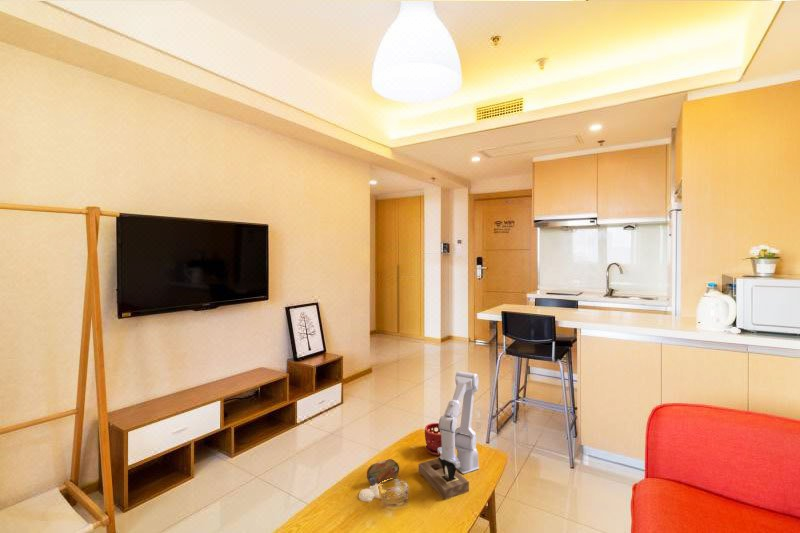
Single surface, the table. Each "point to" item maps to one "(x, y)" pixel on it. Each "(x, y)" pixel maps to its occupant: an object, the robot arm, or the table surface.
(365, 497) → the astronaut figurine
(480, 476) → the table surface
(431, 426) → the plant pot
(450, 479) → the pin
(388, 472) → the tin
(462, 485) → the bore block
